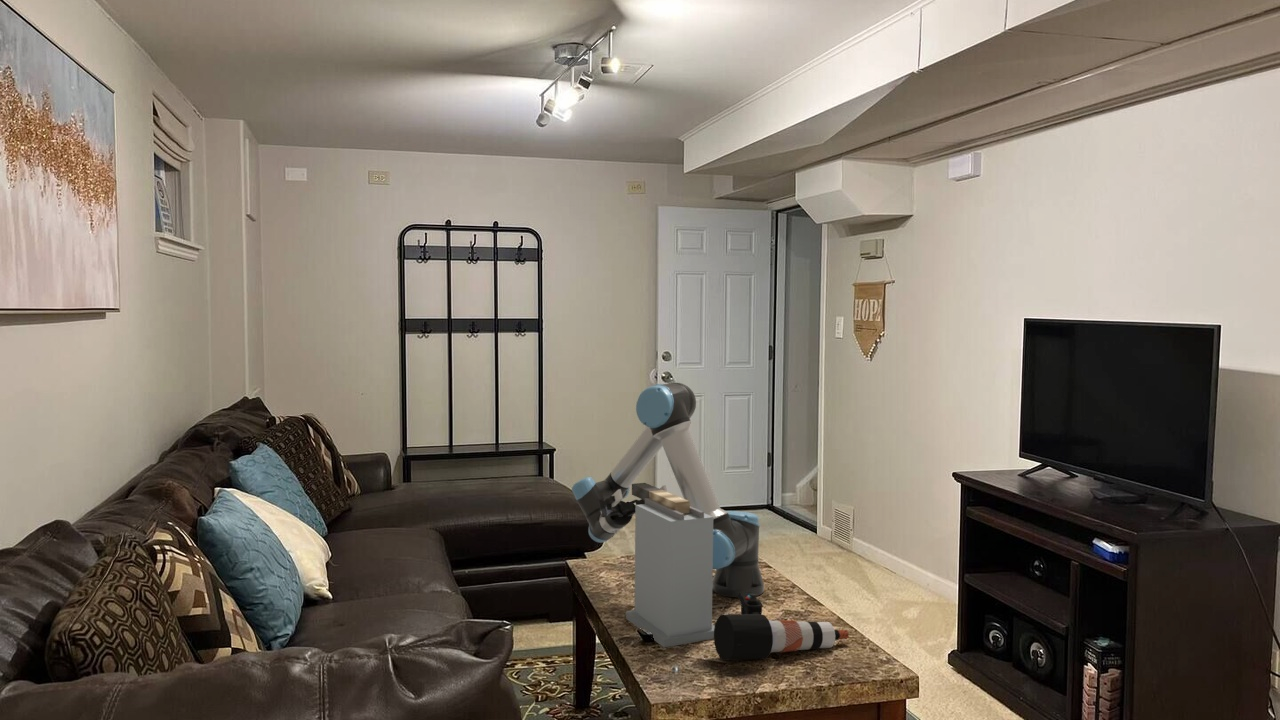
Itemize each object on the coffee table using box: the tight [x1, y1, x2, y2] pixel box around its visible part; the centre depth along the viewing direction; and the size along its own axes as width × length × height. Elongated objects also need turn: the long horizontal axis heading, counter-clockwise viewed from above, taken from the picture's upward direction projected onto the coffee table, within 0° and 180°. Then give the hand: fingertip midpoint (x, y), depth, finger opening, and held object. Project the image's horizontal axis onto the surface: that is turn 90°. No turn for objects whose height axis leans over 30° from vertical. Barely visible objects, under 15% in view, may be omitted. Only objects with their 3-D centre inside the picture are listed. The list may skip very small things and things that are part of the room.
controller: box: [737, 592, 763, 615], centre depth 224 cm, size 4×12×10 cm, turn 6°
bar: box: [631, 482, 690, 514], centre depth 230 cm, size 26×4×3 cm, turn 25°
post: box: [625, 498, 715, 648], centre depth 223 cm, size 22×16×32 cm
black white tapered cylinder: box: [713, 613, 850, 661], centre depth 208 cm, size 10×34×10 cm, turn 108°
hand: (643, 491), depth 237 cm, fingers open, 13 cm apart
